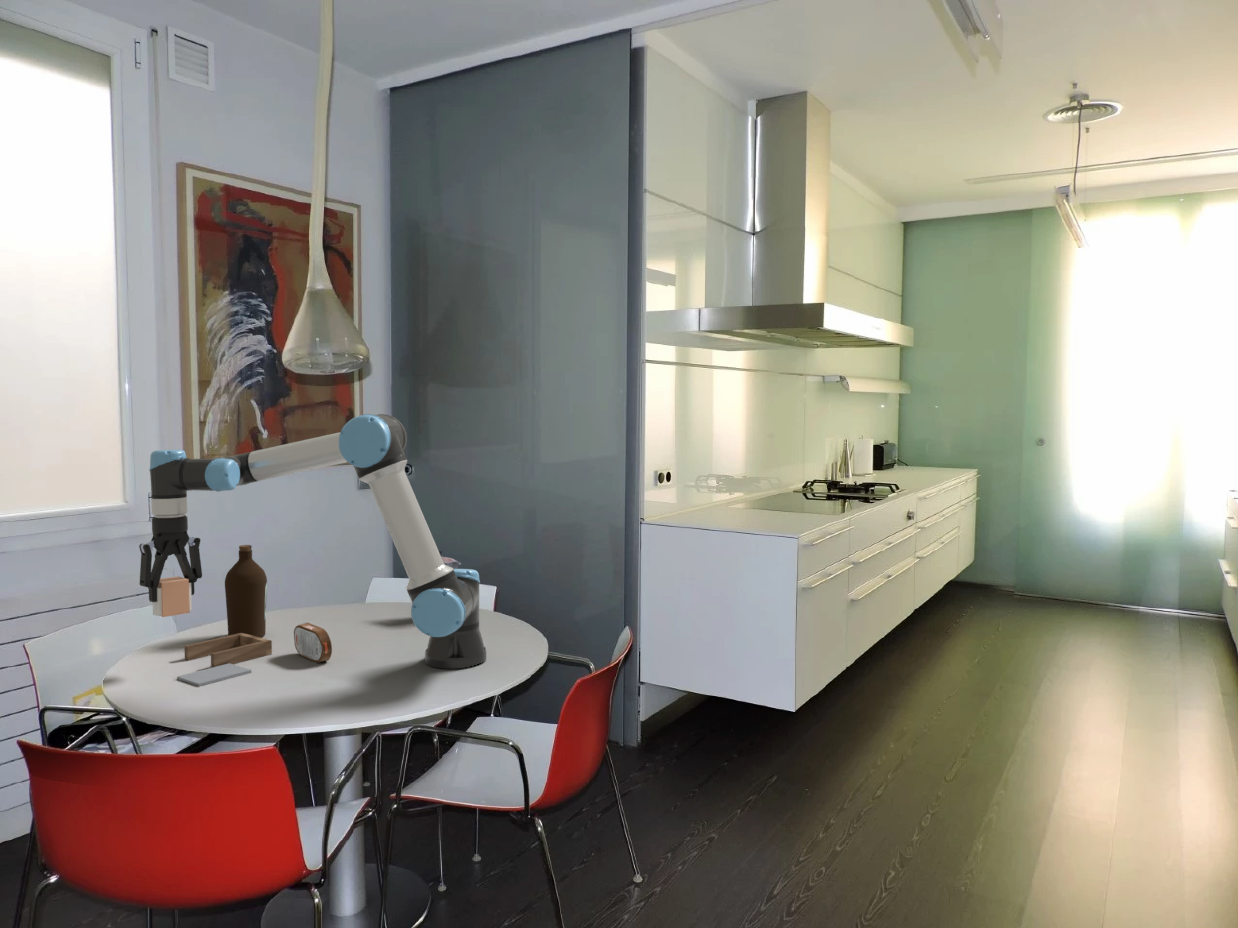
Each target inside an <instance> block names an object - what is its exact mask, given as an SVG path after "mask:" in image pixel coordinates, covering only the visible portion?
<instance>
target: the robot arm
mask: <svg viewBox="0 0 1238 928" xmlns="http://www.w3.org/2000/svg"><path fill="white" fill-rule="evenodd" d="M407 436H408V435H407V432H406V429H405V427H404V425H403V424H402V423H401V422H400V420H398V419H397V418H396V417H394V416H392V415H389V414H384V413H383V414H381V413H379V414H372V413H365V414H361V415H358V416H355V417H353V418H352V419H350V420H349V421H347V422H346V423H345V424H344V425H343V427H342V428H341V431H340V432H336V433H331V434H326V435H321V436H318V437H317V436H316V437H313V438H308V439H303V440H299V441H294V442H289V443H286V444H281V445H276V446H271V447H268V448H262V449H257V450H253V451H250V452H245V453H240V454H236V455H229V456H222V457H212V458H187V454H186V452H185V450H183V449H158V450H154V451H152V452H151V453H150V457H149V458H150V460H149V474H150V492H151V493H150V498H151V499H150V501H151V502H150V503H151V508H150V509H151V514H152V516H153V517H152V518H151V532H152V538H151V541H149V542H146V543H140V544H139V545H138V548H139V551H140V571H139V586H140V587H144V588H147V589H148V600H149V602H150V603H152V615H153V616H156V617H162V591H161V588H159V587H158V585H159V581H160V579H162V574H163V570H164V567H165V564H166V562H167V560H168V557H169V556H172V555H174V557H176V560H177V563H178V565H179V567H180V571H181V573H182V575H183V578H186V579H189V603H190V611H192V610H193V603H192V601H193V600H192V599H193V598H192V597H193V596H194V595H195V583H197V581H198V579H201V578H202V577H203V571H202V570H203V569H202V564H201V561H202V560H201V554H200V544H201V538H200V537H195V536H193V537H190V536H189V534H188V530H189V529H188V528H189V527H188V525H189V524H188V521H189V520H188V516H187V515H185V514H187V513H188V497H187V496H188V494H187V493H188V492H189V491H190V492H191V491H205V492H207V491H209V492H211V491H212V492H218V493H219V492H225V491H227V492H228V491H232V490H234V489H236V487H238V486H244V485H245V486H246V485H249V484H252V483H257V482H260V481H266V480H269V479H274V478H278V477H283V476H289V475H295V474H297V473H303V472H306V471H307V472H308V471H311V470H317V469H321V468H326V467H331V466H337V465H339V464H345V463H348V464H350V465H351V466H353V468H354V470H355V473H356V475H357V478H358V480H359V481H361V482H362V483H366V484H367V485H368V486H369V487H370V490H371V493H372V495H373V497H374V499H375V502H376V505H377V507H378V510H379V512H380V514H381V516H382V519H383V521H384V523H385V525H386V528H387V530H388V532H389V534H390V537H391V540H392V542H393V543H394V547H395V549H396V551H397V553H398V555H399V558H400V560H401V563H402V565H403V568H404V570H405V572H406V575H407V577H408V579H409V580H408V582H407V585H406V591H407V594H408V596H409V599H410V602H411V603H412V605H411V611H410V615H411V619H412V622H413V624H414V626H415V627H416V628H417V630H418V631H420V633H422V634H424V635H426V636H429V639H428V643H427V648H426V649H425V652H424V663H425V664H426V665H427V666H430V667H433V668H438V669H446V670H447V669H449V670H450V669H451V670H452V669H466V668H465V667H467V668H471V667H470V666H472V667H475V666H474V665H476V666H478V665H477V664H479V663H481V664H483V663H485V662H486V661H487V648H486V646H485V645H484V641H483V637H482V634H481V630H480V629H481V628H480V584H481V581H480V574H479V572H478V571H477V570H476V569H472V568H470V569H469V568H457V569H453V568H452V567H449V566H447V565H445V564H444V563H443V560H442V558H441V556H440V553H439V549H438V546H437V544H436V541H435V539H434V538H433V534H432V532H431V531H430V528H429V525H428V524H427V523H428V522H427V521H426V519H425V516H424V513H423V512H422V509H421V506H420V504H419V502H418V499H417V498H416V497H417V496H416V494H415V492H414V490H413V488H412V485H411V482H410V480H409V478H408V476H407V473H406V471H405V468H406V466H407V463H408V459H407V456H406V454H405V452H404V450H405V448H406V446H407V443H408V442H407V441H408V437H407ZM187 545H188V553H189V559H188V554H187V551H186V548H185V547H186V546H187ZM153 548H154V549H155V554H154V562H153V565H152V558H153V555H152V554H153V553H152V552H153V551H154V549H153ZM189 561H190V562H189ZM485 660H486V661H485ZM484 661H485V662H484ZM482 662H483V663H482ZM479 665H480V664H479Z"/></svg>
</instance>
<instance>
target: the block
mask: <svg viewBox="0 0 1238 928" xmlns="http://www.w3.org/2000/svg"><path fill="white" fill-rule="evenodd" d="M158 587H159V588H161V591H162V616H161V618H166V617H167V618H168V617H171V616H178V615H184V614H190V613H191V610H190V603H189V579H186V578H184V577H182V576H170V577H165V578H164V577H163V578H162V577H161V578H160V581H159V585H158Z"/></svg>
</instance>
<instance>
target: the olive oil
mask: <svg viewBox="0 0 1238 928" xmlns="http://www.w3.org/2000/svg"><path fill="white" fill-rule="evenodd" d="M238 548H239V550H238V559H237V561H236V562H235V564H234V565H233V566H232V567H231V568H230V569H229V570H228V571H227V573H226V576H225V578H224V593H225V605H226V607H225V608H226V618H227V621H226V622H227V636H230V635H234V634H238V633H244V634H248V635H252V636H256V637H260V638H263V637H264V636H266V630H267V629H266V628H267V627H266V620H267V619H266V618H267V616H266V615H267V614H266V613H267V595H268V594H267V590H268V588H267V587H268V578H267V574H266V571H265V570H264V569H263V567H261V566H260V565H259V563H257V562H256V561H255V560H254V559H253V550H252V548H253V546H252V544H242V545H239V546H238Z"/></svg>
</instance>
